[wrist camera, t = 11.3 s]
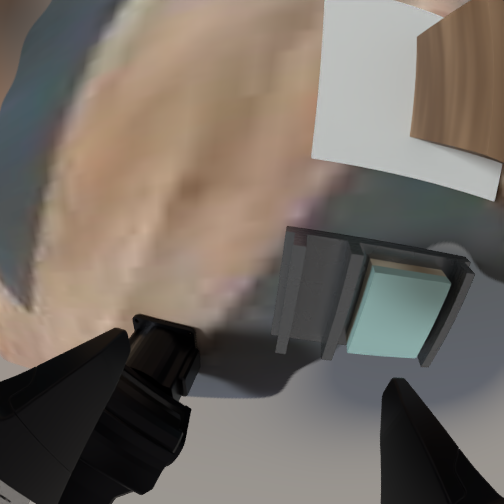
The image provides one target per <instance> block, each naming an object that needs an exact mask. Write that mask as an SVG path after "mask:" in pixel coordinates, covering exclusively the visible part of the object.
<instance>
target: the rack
mask: <svg viewBox="0 0 504 504" xmlns="http://www.w3.org/2000/svg"><path fill="white" fill-rule="evenodd" d="M370 258H371V259H377V260H383V261H390V262H396V263H402V264H408V265H414V266H420V267H426V268H432V269H438V270H442V271H443V273H444V274H445V275H446V277H447V278H448V280H449V281H450V282H451V286H450V289H449V291H448V294H447V296H446V298H445V301H444V303H443V305H442V307H441V310H440V312H439V314H438V316H437V318H436V320H435V322H434V324H433V326H432V329H431V331H430V333H429V335H428V336H427V338H426V340H425V342H424V344H423V346H422V348H421V350H420V352H419V353H418V355H417V356H418V359H419V363H420V365H421V367H429V365H430V364H431V362H432V361H433V359H434V357H435V355H436V354H437V352H438V350H439V349H440V347H441V345H442V343H443V342H444V340H445V338H446V336H447V334H448V332H449V330H450V328H451V326H452V324H453V323H454V321H455V318H456V316H457V314H458V312H459V310H460V308H461V306H462V304H463V302H464V299H465V297H466V295H467V293H468V290H469V288H470V285H471V283H472V281H473V278H474V276H475V274H474V272H473V271H472V270H471V269H470V268H469V266H470V261H469V260H468V259H466V257H463V256H458V255H453V254H447V253H442V252H438V251H432V250H427V249H422V248H416V247H411V246H405V245H400V244H394V243H389V242H383V241H377V240H371V239H365V238H359V237H353V236H347V235H341V234H335V233H329V232H322V231H316V230H309V229H303V228H296V227H289V226H287V229H286V235H285V242H284V250H283V257H282V264H281V271H280V278H279V285H278V292H277V298H276V305H275V311H274V318H273V324H272V331H271V335H276V336H278V339H277V345H276V351H275V353H280V354H286V350H287V345H288V341H289V338H295V339H302V340H309V341H317V342H321V359H323V360H332V357H333V355H334V352H335V349H336V346H337V344H341V345H347V344H346V333H347V331H348V328H349V325H350V322H351V319H352V316H353V313H354V310H355V307H356V304H357V300H358V297H359V294H360V291H361V287H362V284H363V281H364V277H365V274H366V270H367V267H368V263H369V259H370Z"/></svg>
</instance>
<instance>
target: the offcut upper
mask: <svg viewBox="0 0 504 504" xmlns="http://www.w3.org/2000/svg"><path fill="white" fill-rule="evenodd" d="M450 286H451V282H450V281H449V280H448V278H447V277H445V276H439V275H432V274H426V273H420V272H414V271H407V270H401V269H394V268H388V267H382V266H375V265H372V268H371V271H370V275H369V278H368V282H367V285H366V288H365V291H364V295H363V298H362V301H361V304H360V307H359V310H358V313H357V316H356V319H355V322H354V325H353V328H352V330H351V333H350V336H349V339H348V341H347V353H354V354H364V355H376V356H388V357H403V358H416V357H417V355H418V353H419V352H420V350H421V348H422V346H423V344H424V342H425V340H426V338H427V336H428V335H429V333H430V331H431V329H432V326H433V324H434V322H435V320H436V318H437V316H438V314H439V312H440V310H441V307H442V305H443V303H444V301H445V298H446V296H447V294H448V291H449V289H450Z"/></svg>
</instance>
